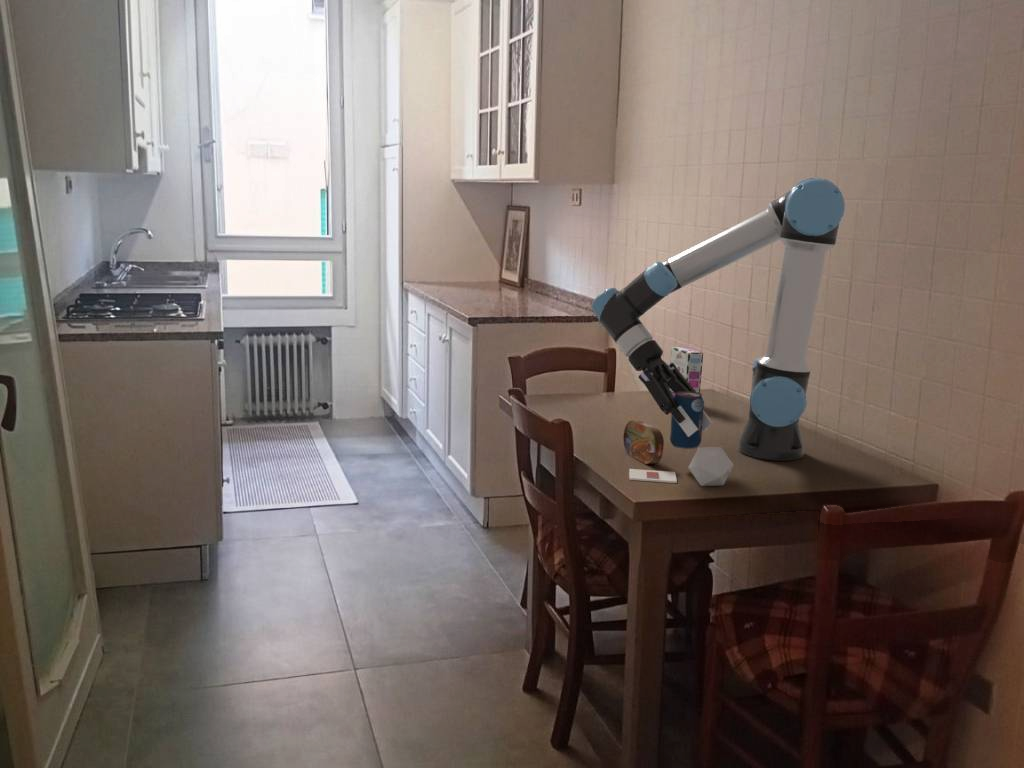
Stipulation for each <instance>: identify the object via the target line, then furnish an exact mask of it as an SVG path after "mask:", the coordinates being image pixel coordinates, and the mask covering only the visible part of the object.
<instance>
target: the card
mask: <svg viewBox="0 0 1024 768" xmlns="http://www.w3.org/2000/svg"><path fill="white" fill-rule="evenodd" d="M628 475H629V477H628V478H629V479H628V480H629V481H640V482H653V483H654V482H657V483H670V484H678V483H677V482H678V480H677V475H676V471H668V470H667V471H666V470H655V469H654V470H652V469H639V468H638V469H636V468H629V473H628Z"/></svg>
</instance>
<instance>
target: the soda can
mask: <svg viewBox="0 0 1024 768" xmlns="http://www.w3.org/2000/svg"><path fill="white" fill-rule="evenodd" d="M674 399H675V401H676V403H677V405H678V406H677V407H679V406H681V407H682V408H683V409H684V411H685V412H686V413H687V415H688V416H689V417H690V419H691V420H692V422H693V423H694V424H695V426H696V427H697V428H698V430H697V431H696V432H694V433H693V434H692V435H691V436H689V437H688V436H687V435H686V433H685V432H684V431H683V429H682V428H681V426H680V425H679V424H678V422H677V421H676V420H675V418H674V417H673V416H672V414H671V416H670V417H671V418H670V431H669V441H670V443H671V445H672V446H673V447H674V448H677V449H682V450H694V449H698V447H700V445H701V443H702V435H703V429H702V423H703V410H705V409H704V407H705V401H704V399H703V394H702V393H701V392H700V393H698V392H692V391H679V392H676V395H675V397H674Z"/></svg>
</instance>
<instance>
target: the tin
mask: <svg viewBox="0 0 1024 768" xmlns="http://www.w3.org/2000/svg"><path fill="white" fill-rule="evenodd" d="M622 438H623V447H624V449H625V452H626V454H627V455H628V456H630V457H631V458H633V459H635V460H636V461H639V462H641V463H642V464H644V465H649V464H650V465H653V464H654V465H655V464H657V463H659V462H661V459H662V458H663V452H664V445H665V441H664V437H663V434H662V432H661V430H660V429H658V428H657V427H654V426H652V425H650V424H648V423H646V422H644V421H642V420H641V421H640V420H629V421H628V422H627V423H626V425H625V427H624V430H623V437H622Z"/></svg>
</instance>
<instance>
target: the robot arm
mask: <svg viewBox="0 0 1024 768" xmlns="http://www.w3.org/2000/svg"><path fill="white" fill-rule="evenodd" d="M845 205H846V203H845V199H844V196H843V193H842V191H841V190H840V188H839V187H838V186H837V185H836V184H834V183H833V182H832V181H830V180H829V179H825V178H821V177H818V178H817V177H810V178H806V179H804V180H801V181H799V182H798V183H797V184H795V185H794V186H793V187H792V188H791V189H790V190H789V191H788V192H786V193H784V194H783V195H782V196H780V197H778V198H777V199H774V200H773V201H771V202H769V203H768V205H767V207H766V209H765V210H763V211H761V212H759V213H757V214H755V215H753V216H751V217H749V218H747V219H745V220H743V221H741V222H740V223H737V224H735V225H733V226H732V227H730V228H727V229H726V230H723V231H721V232H720V233H718V234H715V235H713V236H711V237H710V238H707V239H706V240H704V241H702V242H699V243H698V244H695V245H694V246H691V247H690V248H688V249H685V250H684V251H682V252H680V253H678V254H675V255H674V256H671V257H670V258H669V259H667V260H664V261H662V262H661V261H655V262H654V263H653V264H651V265H649V266H648V267H646V268H645V269H644V271H642V272H641V273H640V274H639V275H638V276H637V277H635V278H634V279H632V280H631V282H630V283H628V284H627V285H626V286H625V287H624V288H622V289H620V290H618V289H617V288H615V287H610V288H609V287H608V288H607V289H605V290H604V291H603V292H601V293H599V294H598V295H597V296H596V297H595V298H594V299H593V301H592V302H591V310H592V312H593V314H594V315H595V316H596V318H597V320H598V322H599V323H600V325H602V327H603V328H604V329H605V331H606V332H607V333H608V335H610V337H611V338H612V340H613V341H614V343H615V344H616V345H617V346H618V347H619V351H620V352H622V354H623V355H625V357H627V359H628V360H627V361H629V362H628V363H630V364H631V366H632V367H633V368H634V370H635V371H637V372H641V371H642V373H641V374H639V375H638V379H639V380H640V381H641V383H643V385H644V386H645V387H646V389H647V391H648V392H649V393H650V394H651V395H650V396H652V398H653V400H654V401H655V402H656V404H657V406H658V407H659V408H660V410H661V412H663V413H664V414H665V415H669V414H671V415H672V416H673V417H674V418H675V420H676V421H677V422H678V424H679V425H680V426H681V428H682V429H683V431H684V432H685V433H686V435H687V436H688V437H689V436H691V435H692V434H693V433H694V432H696V431H697V430H698V428H697V427H696V426H695V424H694V423H693V422H692V420H691V419H690V417H689V416H688V415H687V413H686V412H685V411H684V409H683V408H682V407H681V406H679V407H677V406H678V405H677V403H676V401H675V399H674V397H673V395H672V393H671V391H670V389H671V390H672V391H673V392H674V393H675V394H676V392H679V391H692V392H696V391H695V390H694V389H693V388H692V386H691V385H690V384H689V383H688V382H687V380H686V379H685V378H684V377H683V376H682V374H681V373H680V372H679V371H678V369H677V368H676V366H675V364H674V363H671V362H670V363H671V364H667V363H666V362H665V361H664V360H663V359H662V356H663V353H664V351H663V349H662V348H661V347H660V345H659V343H658V342H657V341H656V340H654V339H653V336H652V333H651V332H650V331H649V330H648V328H646V326H645V325H644V324H643V322H642V321H641V320H640V318H641V317H642V316H643V315H645V313H646V312H648V311H649V310H650V309H651V308H653V307H654V306H656V305H657V304H658V303H659V302H660V301H662V300H664V298H665V297H668V296H669V295H670V294H672V293H673V292H676V291H678V290H680V289H681V288H684V287H685V286H688V285H689V284H692V283H694V282H696V281H698V280H701V279H702V278H704V277H706V276H708V275H710V274H712V273H714V272H716V271H718V270H721V269H722V268H724V267H727V266H729V265H730V264H732V263H734V262H737V261H739V260H742V259H743V258H745V257H747V256H749V255H751V254H753V253H755V252H757V251H760V250H761V249H763V248H767V247H768V246H769V245H771V244H774V243H776V242H778V241H781V243H782V244H783V245H784V252H783V257H782V258H783V259H782V264H781V270H780V275H779V280H778V285H777V291H776V295H775V302H774V307H773V312H772V313H773V314H772V318H771V324H770V328H769V329H770V330H769V335H768V339H767V345H766V350H765V354H764V355H763V356H761V357H757V358H756V359H755V360H754V362H753V366H752V369H751V370H752V376H751V377H752V380H751V390H750V391H751V392H750V396H749V410H748V411H749V413H748V420H747V422H746V425H745V427H744V429H743V431H742V434H741V435H740V438H739V441H738V451H739V452H740V453H742V454H743V455H746V456H749V457H752V458H756V459H761V460H767V461H778V462H779V461H780V462H783V461H784V462H787V461H797V460H800V459H801V458H803V457H804V450H805V446H804V441H803V438H802V437H803V436H802V434H801V433H802V432H801V427H800V418H801V417H802V415H803V414H804V413H805V410H806V408H807V407H806V406H807V403H808V402H807V390H808V384H809V380H810V376H811V371H812V369H811V367H810V366H809V365H808V363H807V362H806V360H807V359H806V358H807V353H808V348H809V347H808V346H809V342H810V337H811V333H812V328H813V323H814V322H813V321H814V316H815V313H816V312H815V311H816V306H817V301H818V297H819V292H820V291H819V290H820V288H821V287H820V286H821V279H822V276H823V271H824V266H825V265H824V264H825V260H826V254H827V253H828V252H829V251H830V250H831V249H833V248H834V247H836V243H837V236H838V232H839V227H840V222H841V221H842V219H843V217H844V213H845ZM669 378H670V379H669ZM669 388H670V389H669ZM713 424H714V422H713V421H712V419H711V418H710V417H709V416H708V414H707V413H706V412H705V409H703V423H702V432H703V431H706V430H707V429H708V428H709V427H711V426H712V425H713Z"/></svg>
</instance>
